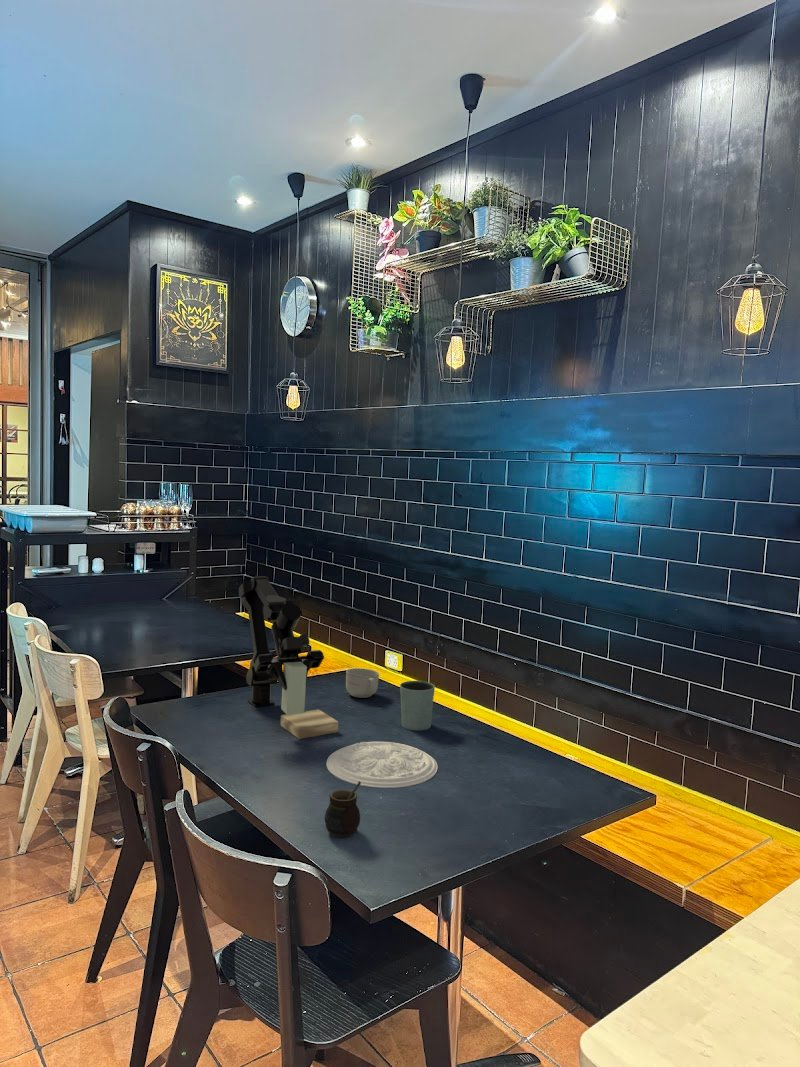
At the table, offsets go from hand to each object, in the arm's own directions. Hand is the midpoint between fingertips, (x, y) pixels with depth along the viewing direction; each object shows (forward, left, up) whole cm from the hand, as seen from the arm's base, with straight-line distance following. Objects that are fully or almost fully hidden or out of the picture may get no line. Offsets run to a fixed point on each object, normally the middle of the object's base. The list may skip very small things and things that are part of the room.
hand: (295, 688), depth 206 cm
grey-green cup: (+7, +35, -14) cm, 39 cm away
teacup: (-23, +35, -14) cm, 44 cm away
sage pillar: (-1, 0, -7) cm, 7 cm away
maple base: (-4, +6, -13) cm, 15 cm away
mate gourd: (+53, -15, -14) cm, 57 cm away
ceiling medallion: (+27, +11, -14) cm, 33 cm away
